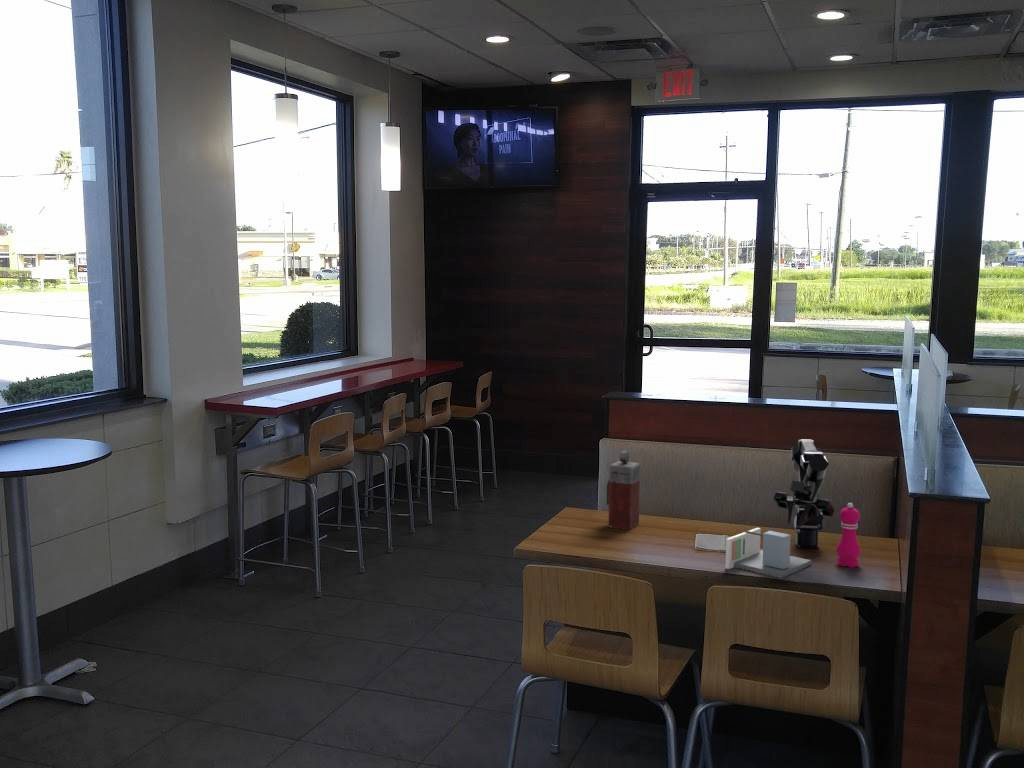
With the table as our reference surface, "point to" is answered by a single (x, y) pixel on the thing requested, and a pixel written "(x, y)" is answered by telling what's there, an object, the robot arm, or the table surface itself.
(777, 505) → the robot arm
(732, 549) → the gauge stand
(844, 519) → the pepper mill
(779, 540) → the gauge carriage
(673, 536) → the table surface
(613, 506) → the red square canister
